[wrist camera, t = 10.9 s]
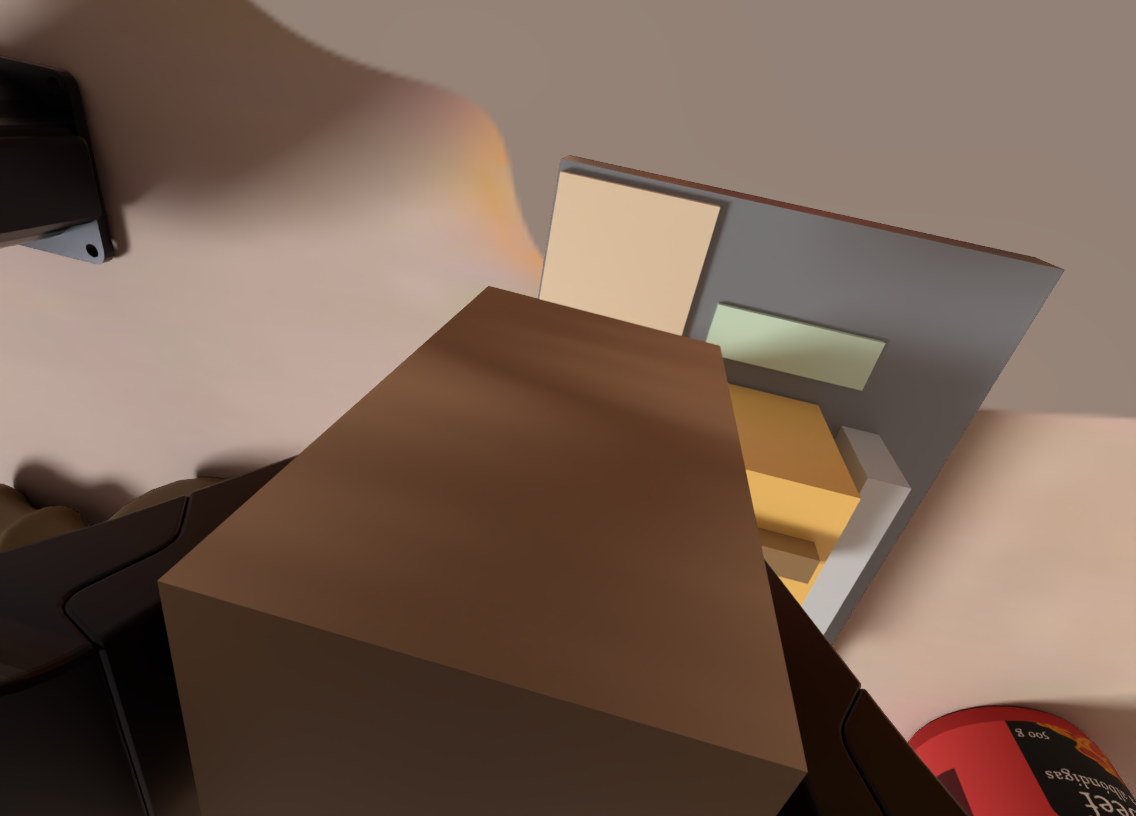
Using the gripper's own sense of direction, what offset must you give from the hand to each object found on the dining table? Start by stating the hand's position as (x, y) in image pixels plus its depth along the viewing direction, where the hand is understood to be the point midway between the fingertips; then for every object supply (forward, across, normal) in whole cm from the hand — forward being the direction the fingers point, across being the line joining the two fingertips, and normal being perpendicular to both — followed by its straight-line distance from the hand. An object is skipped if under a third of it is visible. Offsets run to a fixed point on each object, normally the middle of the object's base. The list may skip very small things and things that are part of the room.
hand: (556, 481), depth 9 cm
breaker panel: (+12, -5, +6) cm, 14 cm away
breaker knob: (+10, -5, +4) cm, 12 cm away
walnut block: (+2, 0, 0) cm, 2 cm away
